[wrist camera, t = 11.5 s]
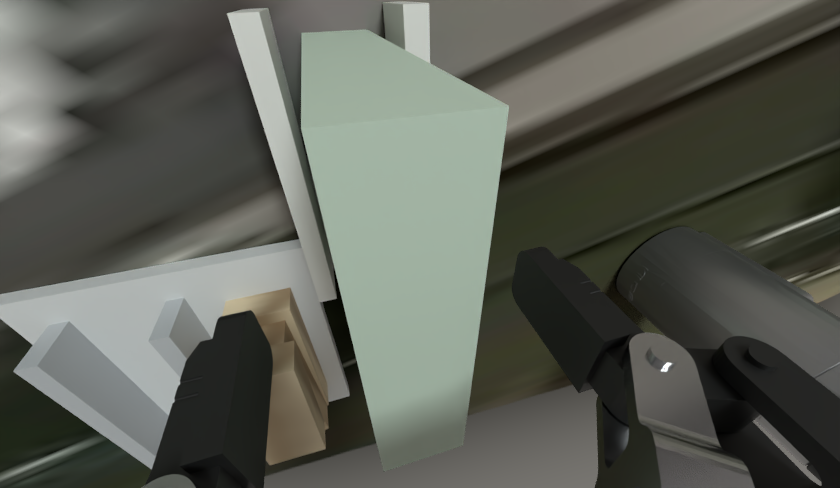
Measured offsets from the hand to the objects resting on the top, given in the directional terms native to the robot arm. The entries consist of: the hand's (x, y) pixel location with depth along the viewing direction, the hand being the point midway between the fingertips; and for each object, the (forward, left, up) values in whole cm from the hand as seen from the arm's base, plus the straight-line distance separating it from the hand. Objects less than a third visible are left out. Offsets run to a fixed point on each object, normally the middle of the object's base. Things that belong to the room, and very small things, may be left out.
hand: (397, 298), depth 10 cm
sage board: (0, 0, -12) cm, 12 cm away
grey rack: (+12, +14, -12) cm, 22 cm away
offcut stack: (+8, +14, -11) cm, 19 cm away
